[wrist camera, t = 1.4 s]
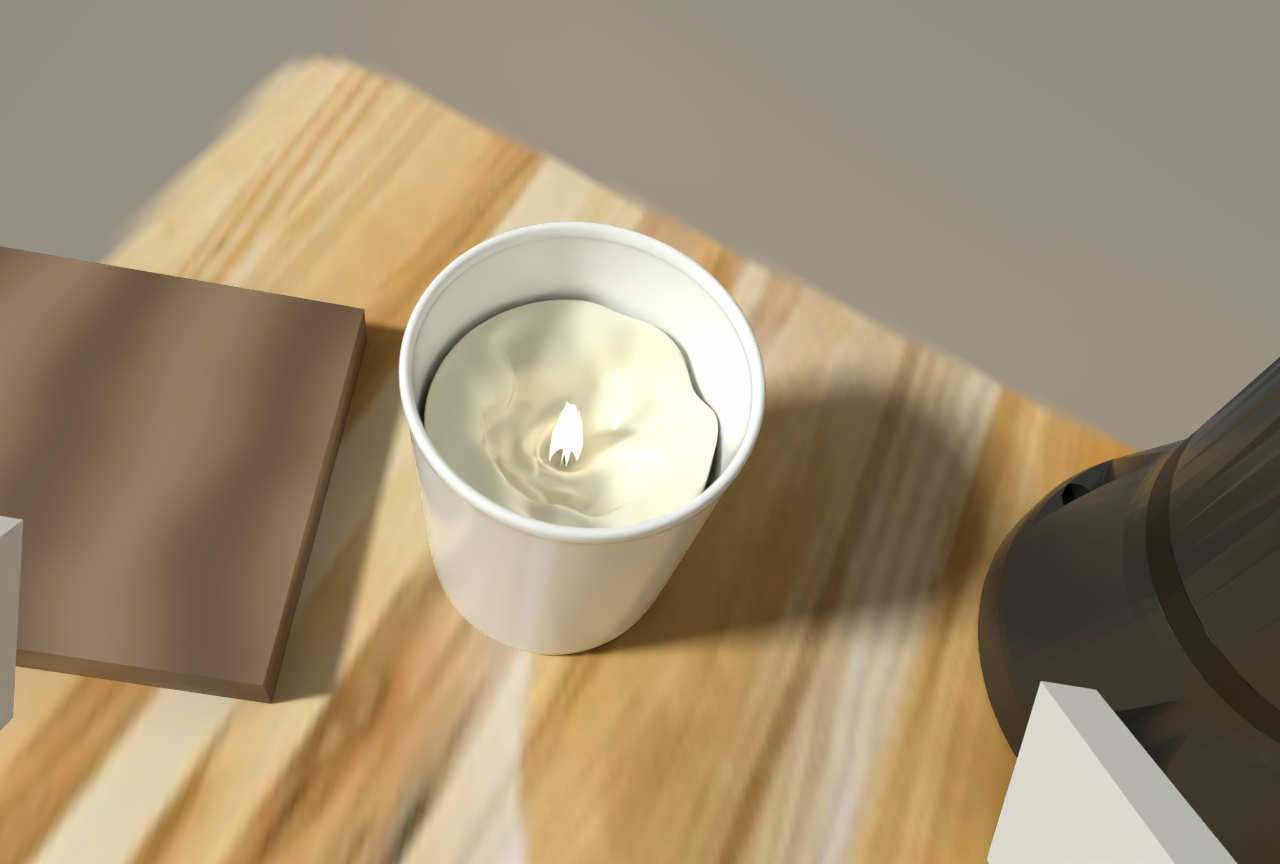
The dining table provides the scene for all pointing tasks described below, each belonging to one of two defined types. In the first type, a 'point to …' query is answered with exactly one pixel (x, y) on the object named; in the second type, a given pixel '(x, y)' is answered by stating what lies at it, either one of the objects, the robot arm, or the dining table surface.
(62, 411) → the walnut board
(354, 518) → the dining table surface
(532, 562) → the candle holder
